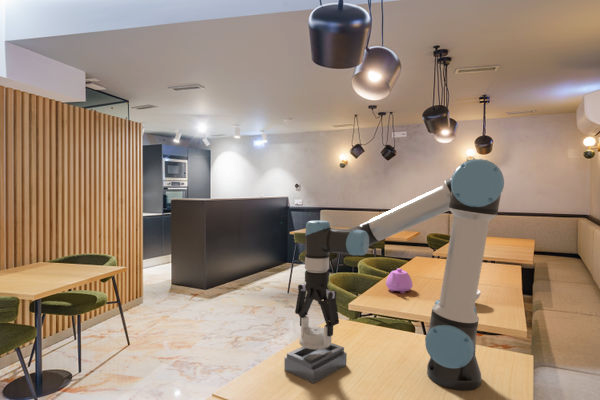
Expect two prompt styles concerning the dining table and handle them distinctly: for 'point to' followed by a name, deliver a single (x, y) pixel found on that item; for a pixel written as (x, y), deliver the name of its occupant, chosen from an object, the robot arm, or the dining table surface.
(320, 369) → the dark grey rectangular box
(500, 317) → the dining table surface
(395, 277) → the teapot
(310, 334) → the mechanical component
